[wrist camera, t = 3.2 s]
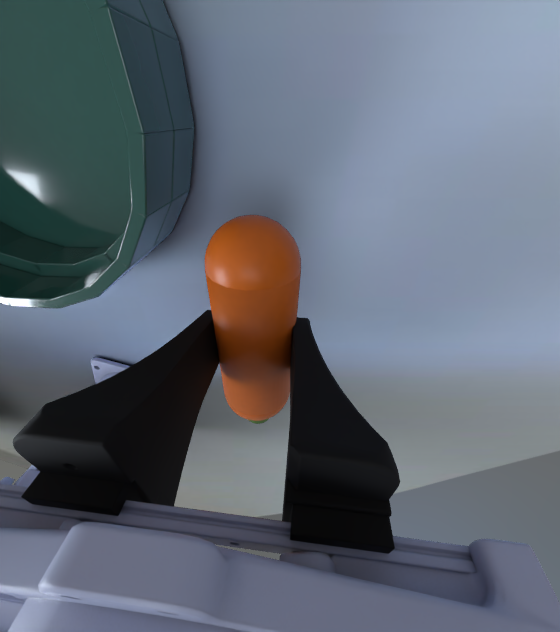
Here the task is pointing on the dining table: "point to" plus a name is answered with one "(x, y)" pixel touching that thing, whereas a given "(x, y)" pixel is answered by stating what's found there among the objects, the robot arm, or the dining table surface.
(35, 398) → the dining table surface
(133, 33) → the green glass bowl
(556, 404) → the dining table surface
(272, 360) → the carrot
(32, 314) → the dining table surface
